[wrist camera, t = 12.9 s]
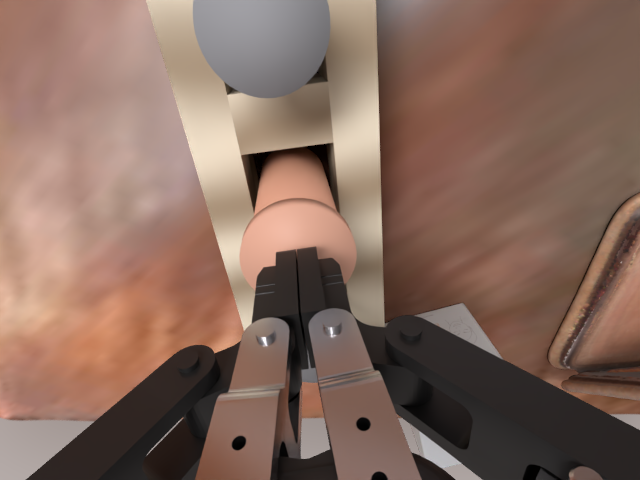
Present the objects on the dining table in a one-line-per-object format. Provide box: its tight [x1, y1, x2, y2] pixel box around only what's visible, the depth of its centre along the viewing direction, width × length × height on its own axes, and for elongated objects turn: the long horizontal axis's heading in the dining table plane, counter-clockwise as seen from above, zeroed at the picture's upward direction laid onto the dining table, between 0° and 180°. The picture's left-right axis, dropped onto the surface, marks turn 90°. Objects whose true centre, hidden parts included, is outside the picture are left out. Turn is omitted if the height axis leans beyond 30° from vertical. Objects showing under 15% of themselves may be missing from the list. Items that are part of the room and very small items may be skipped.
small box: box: [385, 303, 503, 468], centre depth 29 cm, size 8×6×10 cm
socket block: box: [146, 0, 385, 331], centre depth 22 cm, size 28×10×5 cm, turn 6°
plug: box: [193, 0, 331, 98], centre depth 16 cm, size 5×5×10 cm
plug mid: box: [239, 147, 357, 290], centre depth 18 cm, size 5×5×10 cm
